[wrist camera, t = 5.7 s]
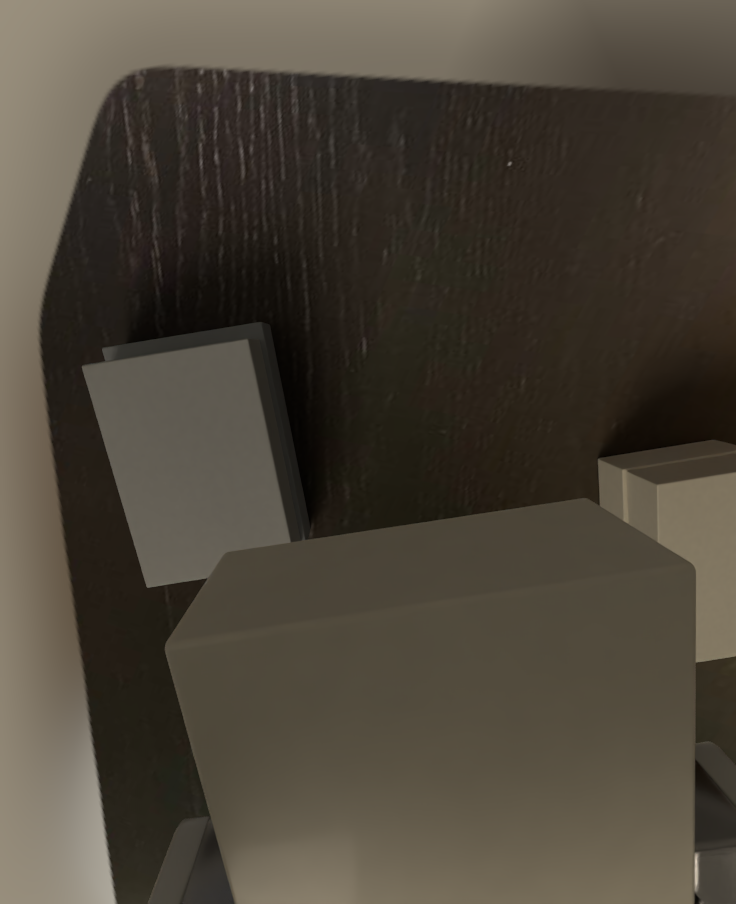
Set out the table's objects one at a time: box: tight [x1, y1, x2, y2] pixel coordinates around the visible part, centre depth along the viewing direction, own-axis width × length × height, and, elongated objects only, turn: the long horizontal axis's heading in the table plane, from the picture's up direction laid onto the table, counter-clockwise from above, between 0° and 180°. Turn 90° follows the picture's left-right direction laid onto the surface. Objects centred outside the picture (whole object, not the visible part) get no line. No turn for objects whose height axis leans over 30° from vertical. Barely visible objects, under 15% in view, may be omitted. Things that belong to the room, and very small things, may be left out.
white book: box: [165, 498, 696, 904], centre depth 7 cm, size 10×6×2 cm, turn 8°
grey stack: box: [82, 322, 310, 587], centre depth 24 cm, size 12×8×5 cm, turn 9°
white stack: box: [598, 440, 736, 662], centre depth 26 cm, size 11×7×5 cm, turn 9°
